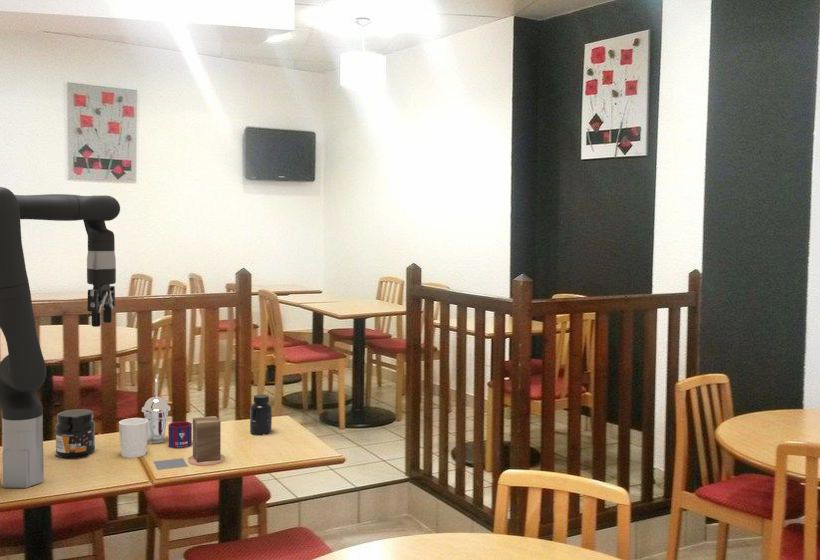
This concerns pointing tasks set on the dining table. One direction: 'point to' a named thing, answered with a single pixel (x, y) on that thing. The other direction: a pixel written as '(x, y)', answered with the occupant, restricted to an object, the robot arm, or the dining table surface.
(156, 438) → the cup with straw
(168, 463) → the coaster
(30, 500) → the dining table surface
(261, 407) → the supplement bottle
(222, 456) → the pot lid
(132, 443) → the white cup
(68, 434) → the supplement container
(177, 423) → the mug
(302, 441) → the dining table surface
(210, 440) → the tall wooden block
